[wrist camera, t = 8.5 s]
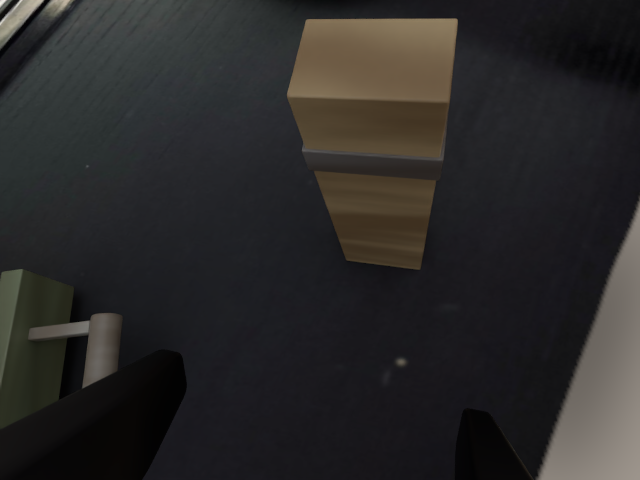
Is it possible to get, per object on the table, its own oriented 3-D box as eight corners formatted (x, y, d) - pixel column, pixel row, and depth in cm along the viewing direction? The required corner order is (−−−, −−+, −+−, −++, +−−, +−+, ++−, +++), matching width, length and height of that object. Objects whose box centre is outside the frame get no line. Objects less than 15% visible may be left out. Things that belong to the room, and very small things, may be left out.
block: (422, 272, 22) (453, 106, 10) (343, 262, 23) (281, 99, 11) (427, 223, 23) (462, 14, 11) (351, 215, 24) (302, 15, 12)
